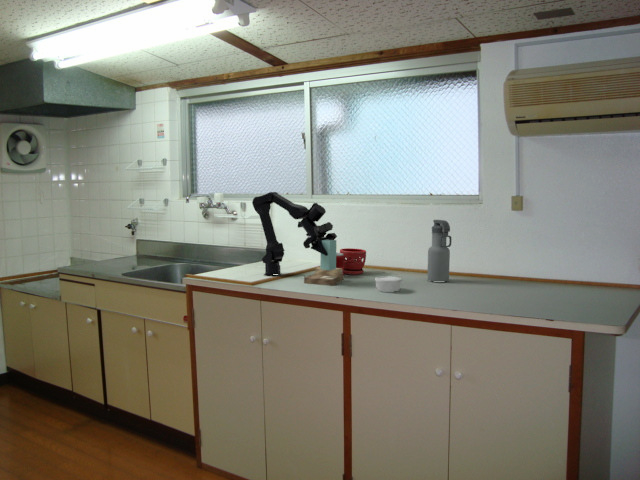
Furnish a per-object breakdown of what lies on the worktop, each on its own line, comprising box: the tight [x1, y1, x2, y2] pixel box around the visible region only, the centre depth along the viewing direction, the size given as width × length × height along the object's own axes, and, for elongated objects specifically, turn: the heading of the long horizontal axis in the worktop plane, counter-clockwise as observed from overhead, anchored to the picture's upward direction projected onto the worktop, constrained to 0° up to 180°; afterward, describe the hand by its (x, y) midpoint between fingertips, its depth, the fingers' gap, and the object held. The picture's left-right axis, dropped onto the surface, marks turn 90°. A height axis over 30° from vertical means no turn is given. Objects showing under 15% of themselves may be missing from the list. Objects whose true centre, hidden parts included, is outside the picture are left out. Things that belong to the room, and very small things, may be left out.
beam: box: [314, 266, 342, 276], centre depth 249 cm, size 12×4×3 cm, turn 68°
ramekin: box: [374, 275, 402, 293], centre depth 225 cm, size 11×11×5 cm
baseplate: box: [303, 272, 345, 286], centre depth 244 cm, size 14×14×3 cm
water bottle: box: [426, 219, 452, 282], centre depth 245 cm, size 10×10×28 cm
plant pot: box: [339, 247, 367, 276], centre depth 265 cm, size 13×13×12 cm
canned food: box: [336, 252, 344, 275], centre depth 257 cm, size 8×8×11 cm
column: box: [319, 239, 337, 270], centre depth 240 cm, size 5×5×13 cm
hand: (330, 254), depth 239 cm, fingers closed on column, 5 cm apart
